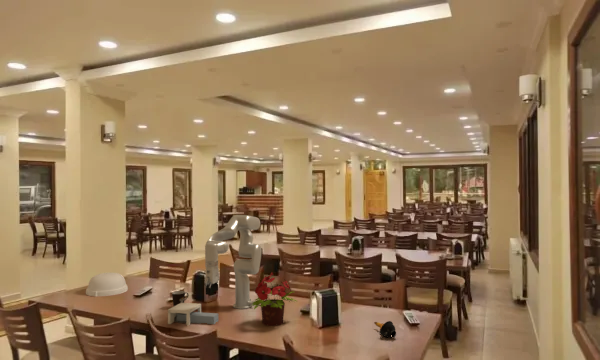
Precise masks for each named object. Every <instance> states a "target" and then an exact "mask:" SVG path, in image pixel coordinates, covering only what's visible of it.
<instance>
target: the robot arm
mask: <svg viewBox="0 0 600 360" xmlns="http://www.w3.org/2000/svg"><path fill="white" fill-rule="evenodd" d="M260 227H261V220H260V218H258V217H256V216H252V215H247V214H236V215H233V216H232V217H231V218H230V219H229V220H228V222H227V224H225V226H224V227H223V228H222V229H220V230H218V231H216V232H214V233H213V234H211V235H210V236H209V238H208V239H207V241H206V242H205V245H204V252H205V253H204V263H205V264H204V265H205V276H204V279H205V280H204V286H205V287H204V288H205V295H207V296H210V295H212V291H216V292H217V291H219V281H220V270H219V254H221V255H222V254H226V253H227V252H228V250H229V244H228V242H226V240H231V239H232V238H234V237H235V236H236V235H237V233H238V231H239V234H240V237H239V238H240V239H239V245H238V252H237V253H238V255H239V257H240V258H238V259H236V260H235V261H234V263H233V271H234V278H235V279H234V280H235V281H234V283H235V286H234V288H235V294H234V295H235V296H234V297H235V300H234V301H235V302H234V303H233V304H232V307H233V308H234V309H239V310H245V309H250V308H251V307H253V306H252V305H254V304H253V302H255V300H253V301H252V299H251V298H250V293H251V292H250V277H249V275H253V276H254V275H257V274H258V273H259V271H260V267H261V259H262V252H263V251H262V247H261V244H258V243H253V239H254V236H253V233H252V231H257V230H259V228H260ZM243 258H244V259H243ZM245 258H246V259H245ZM248 258H249V259H248ZM211 286H212V287H211ZM254 306H255V305H254Z"/></svg>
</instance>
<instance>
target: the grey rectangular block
mask: <svg viewBox="0 0 600 360" xmlns="http://www.w3.org/2000/svg"><path fill="white" fill-rule="evenodd" d="M177 321H186V313H178V314H177ZM186 322H187V321H186ZM216 322H217V323H218V322H219V313H217V312H216V313H215V312H203V311H201V312H198V311H193V312H191V313H190V324H201V323H207V324H206V325H215V324H217V323H216Z"/></svg>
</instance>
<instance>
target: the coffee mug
mask: <svg viewBox="0 0 600 360" xmlns="http://www.w3.org/2000/svg"><path fill="white" fill-rule="evenodd" d="M185 296H186V297H185ZM171 297H172V305H173V306H172V307H174V306H176V305H178V304H180V303H185V302H186V300H187V299H188V297H189V293H188V292H186V291H185V290H176V291H173V292H171Z"/></svg>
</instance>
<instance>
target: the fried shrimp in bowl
mask: <svg viewBox="0 0 600 360" xmlns="http://www.w3.org/2000/svg"><path fill="white" fill-rule="evenodd" d="M373 324H374V325H375V326H377V327H379V334H380V333H381V334H380V335H381V336H383V337H385V338H391V339H393V338H395V337H396V336H397V332H396V327H395V325H394V323H393V321H392V320H387V321H386V322H385V323H384V322H383V323H381V322H378V321H374V323H373ZM391 335H392V337H393V338H392V337H391Z"/></svg>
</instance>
